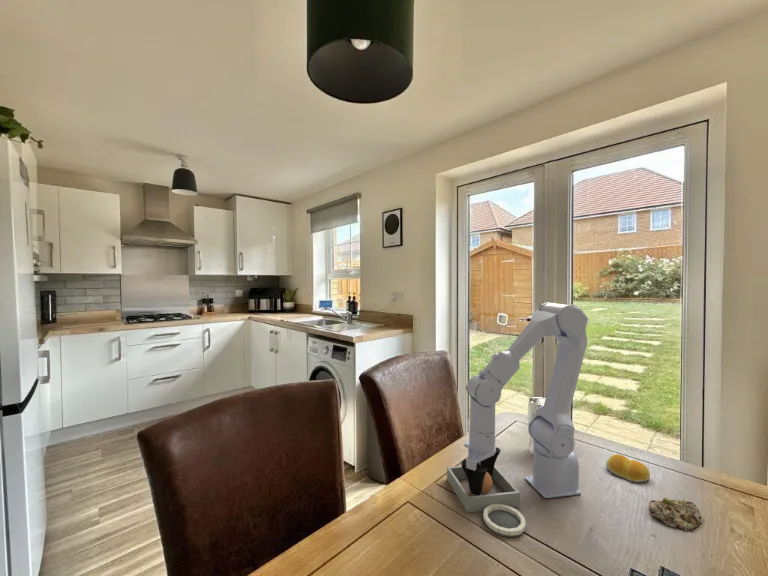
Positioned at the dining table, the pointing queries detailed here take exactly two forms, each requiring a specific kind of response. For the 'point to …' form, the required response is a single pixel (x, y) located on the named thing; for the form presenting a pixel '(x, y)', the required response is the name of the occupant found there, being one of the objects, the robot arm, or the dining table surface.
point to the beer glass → (532, 407)
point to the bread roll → (628, 468)
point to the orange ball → (486, 483)
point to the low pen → (482, 501)
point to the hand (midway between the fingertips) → (481, 485)
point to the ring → (504, 520)
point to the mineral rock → (676, 513)
